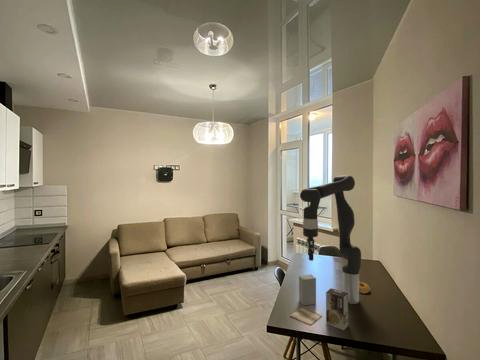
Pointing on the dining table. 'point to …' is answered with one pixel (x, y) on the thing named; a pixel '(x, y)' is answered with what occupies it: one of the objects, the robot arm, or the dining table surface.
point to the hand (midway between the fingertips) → (310, 257)
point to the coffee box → (337, 308)
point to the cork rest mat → (306, 316)
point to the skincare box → (307, 289)
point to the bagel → (363, 288)
